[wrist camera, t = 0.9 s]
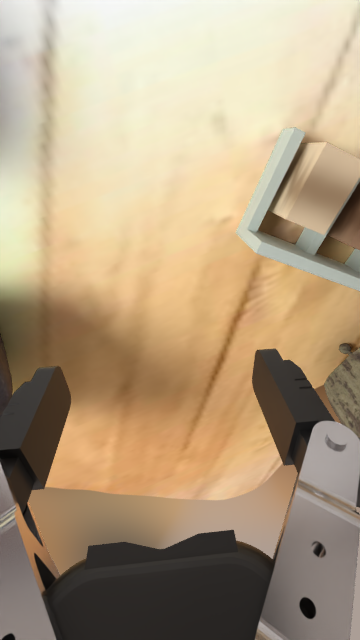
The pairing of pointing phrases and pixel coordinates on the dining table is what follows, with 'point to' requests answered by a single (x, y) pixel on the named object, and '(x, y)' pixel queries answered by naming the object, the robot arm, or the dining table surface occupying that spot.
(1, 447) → the robot arm
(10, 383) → the pitcher
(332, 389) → the tabletop clock
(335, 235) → the tow block
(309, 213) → the oak block
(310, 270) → the lane shelf
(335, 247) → the dining table surface
